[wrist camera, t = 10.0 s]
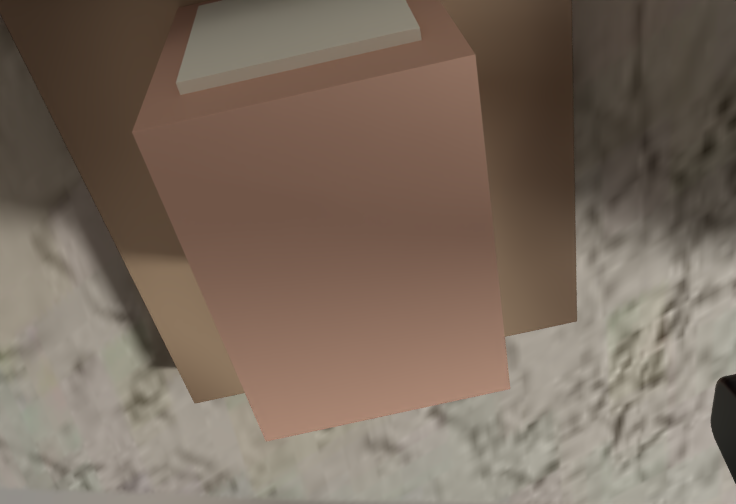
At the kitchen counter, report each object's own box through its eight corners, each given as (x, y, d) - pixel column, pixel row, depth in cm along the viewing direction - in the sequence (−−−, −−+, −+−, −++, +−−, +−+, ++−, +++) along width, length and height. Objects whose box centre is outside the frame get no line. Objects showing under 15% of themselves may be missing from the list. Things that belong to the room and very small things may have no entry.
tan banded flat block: (543, -237, 14) (621, -232, 11) (560, 290, 23) (608, 380, 19) (-25, -104, 15) (-110, -62, 11) (198, 368, 23) (186, 470, 20)
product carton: (449, 224, 19) (510, 388, 14) (268, 264, 19) (265, 441, 14) (407, -56, 15) (474, 40, 10) (175, -2, 15) (126, 119, 10)
